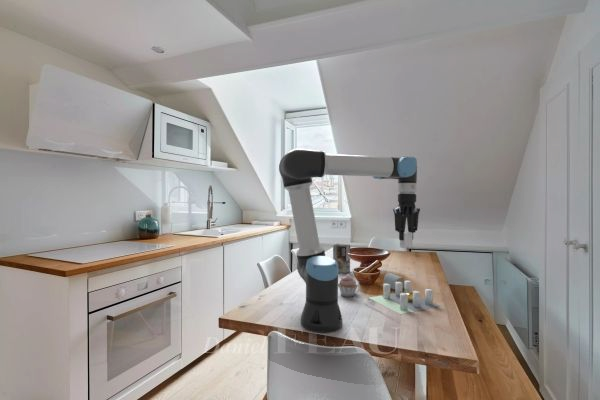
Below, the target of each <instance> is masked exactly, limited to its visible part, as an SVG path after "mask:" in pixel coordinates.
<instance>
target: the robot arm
mask: <svg viewBox="0 0 600 400" xmlns="http://www.w3.org/2000/svg"><path fill="white" fill-rule="evenodd" d="M278 172H279V175H280V176H281V178H282V184H283V189H285V190H286V191H288V196H289V201H290V205H291V206H290V207H291V211H292V218H293V224H294V228H295V234H296V239H297V245H298V250H297V252H296V253H295V255H296V259H297V260H296V263H297V266H296V268H297V272H298V275H299V276H300V278H301V279H302V281H304V284H305V303H304V306H303V309H302V312H301V315H300V324H301V326H302V327H303V328H304V329H306V330H309V331H312V332H315V333H331V332H336V331H339V330H340V329H341V328H343V316H342V313H341V309H340V306H339V302H338V301H339V286H338V283H339V273H340V272H339V269H338V263H337V261H336V260H334V259H333V257H329V256H327V255H326V252H325V248H324V247H323V246H322V245H321V244H320V240H319V238H320V237H319V234H318V227H317V223H316V217H315V212H314V211H315V210H314V206H313V200H312V196H311V195H312V194H311V189H310V188H311V186H312V184H313V178H323V177H325V176H348V177H349V176H350V177H351V176H352V177H353V176H355V177H372V178H373V179H378V180H397V192H398V194H397V202H398V205H397V207H396V208H395V207H394V208H393V209H392V211H393V216H394V231H395V232H397V233H398V235H399V236H398V239H399V248H402V249H406V248H409V249H410V248H411V249H413V240H414V233H416V231H418V227H419V216H420V211H421V209H420V207H419V208H418V207H417V206H416V202H417V194H416V193H417V182H418V181H417V180H418V178H417V177H418V161H417V158H416V157H415V156H401V157H396V156H395V157H394V156H392V157H390V156H372V155H357V154H356V155H354V154H353V155H351V154H334V153H332V154H331V153H326V152H325V151H324V150H316V149H306V148H295V149H291V150H289V152H287V153H286V154H285V155H283V157H282V158H281V159H280V162H279V165H278ZM406 225H407V231H405V230H406Z"/></svg>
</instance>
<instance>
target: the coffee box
mask: <svg viewBox="0 0 600 400" xmlns="http://www.w3.org/2000/svg"><path fill="white" fill-rule="evenodd" d="M348 253H350V254H351V245H350V244H344V243H343V244H342V243H336V244H334V245H332V258H333V259H334V260H336V261H337V263H338V269H339V273H343V274H348V273H350V272H351V257H350V258H349V257H348V256H347V254H348ZM349 271H350V272H349ZM347 272H348V273H347Z"/></svg>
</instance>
